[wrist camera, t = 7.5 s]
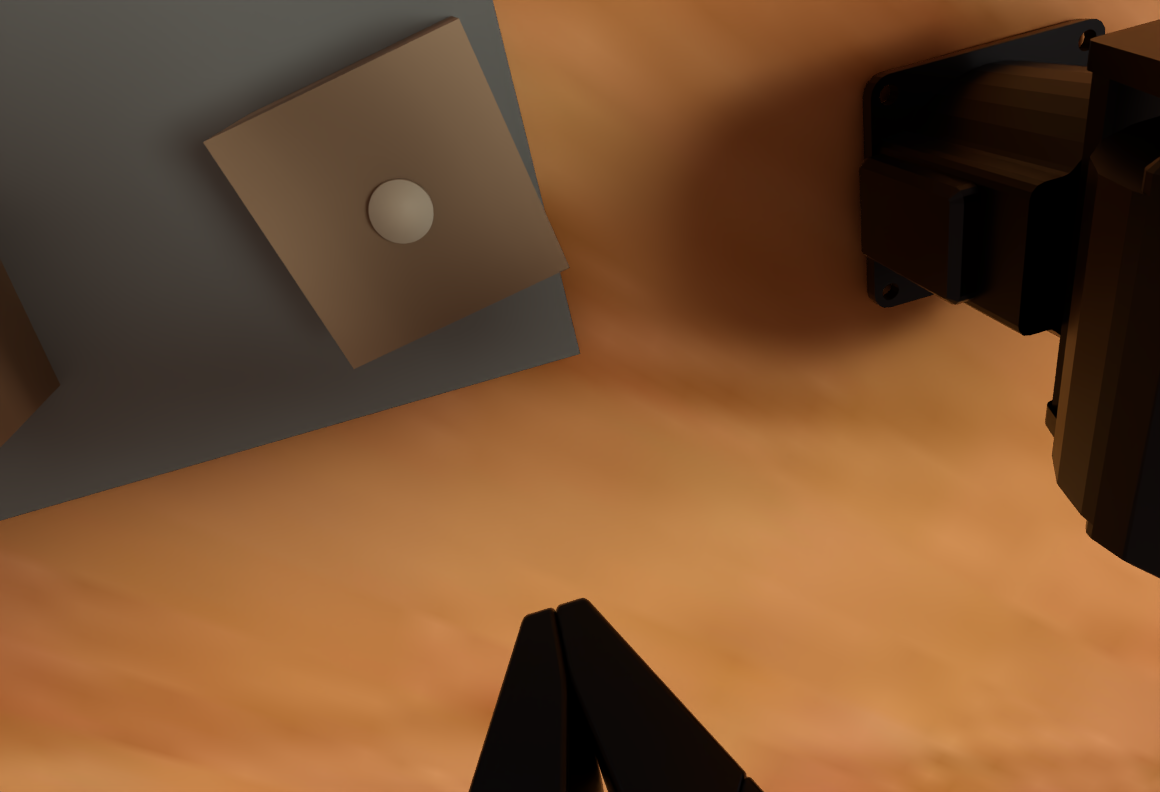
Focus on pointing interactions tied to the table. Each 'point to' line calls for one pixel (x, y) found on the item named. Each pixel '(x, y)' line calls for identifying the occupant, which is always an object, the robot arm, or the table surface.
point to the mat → (199, 238)
